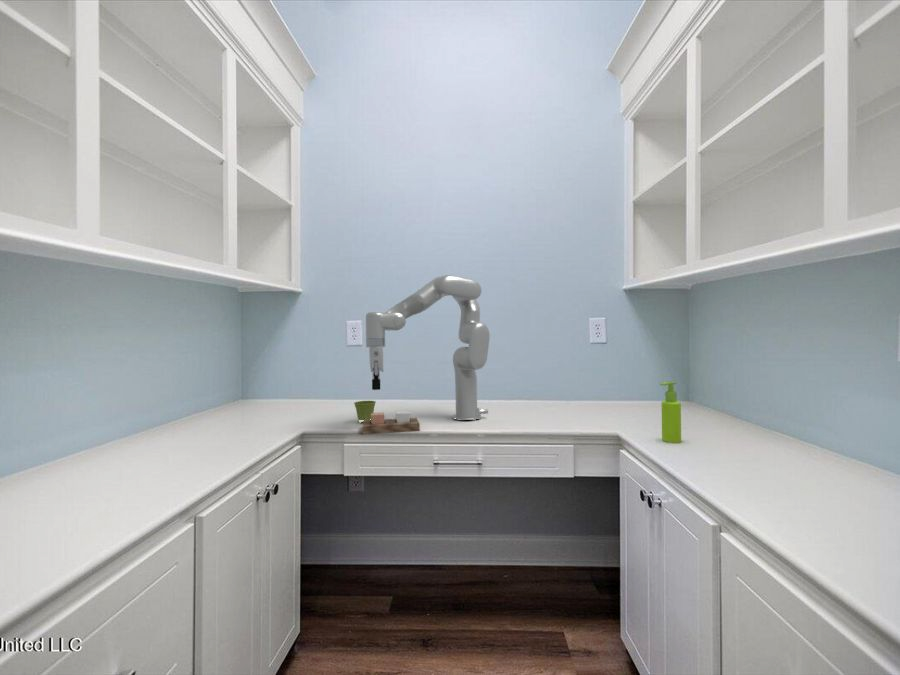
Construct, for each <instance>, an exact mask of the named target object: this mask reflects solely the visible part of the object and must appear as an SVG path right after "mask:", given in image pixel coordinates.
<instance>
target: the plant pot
mask: <svg viewBox="0 0 900 675" xmlns="http://www.w3.org/2000/svg"><path fill="white" fill-rule="evenodd" d="M376 403H377V401H376V400H359V401H355V402H353V404H354V407H355V410H356V416H357V420H358V419H359V420H370V419H371V413H375V406H376Z"/></svg>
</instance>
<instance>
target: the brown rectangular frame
mask: <svg viewBox="0 0 900 675" xmlns="http://www.w3.org/2000/svg"><path fill="white" fill-rule="evenodd" d="M361 424H362V427H361V428H362V430H361V431H362V435H372V434H390V433H393V434H394V433H407V432H420V431H421V430H420V429H421V428H420V426H421V424H420V422H419V420H418V418H417V417H410V422H406V423H397V422H396V418H384V424H371V420H364V421H363V423H361Z"/></svg>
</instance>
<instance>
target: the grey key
mask: <svg viewBox="0 0 900 675" xmlns="http://www.w3.org/2000/svg"><path fill="white" fill-rule="evenodd" d="M395 412H396V413H395V415H396V418H395V419H396V422H397V423H406V422H410V418H411V416H410V414H411V413H410V411H408V410H403V411H402V410H401V411H395Z"/></svg>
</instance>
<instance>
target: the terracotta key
mask: <svg viewBox="0 0 900 675" xmlns="http://www.w3.org/2000/svg"><path fill="white" fill-rule="evenodd" d="M384 419H385V412H374V413H371V424H384Z"/></svg>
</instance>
